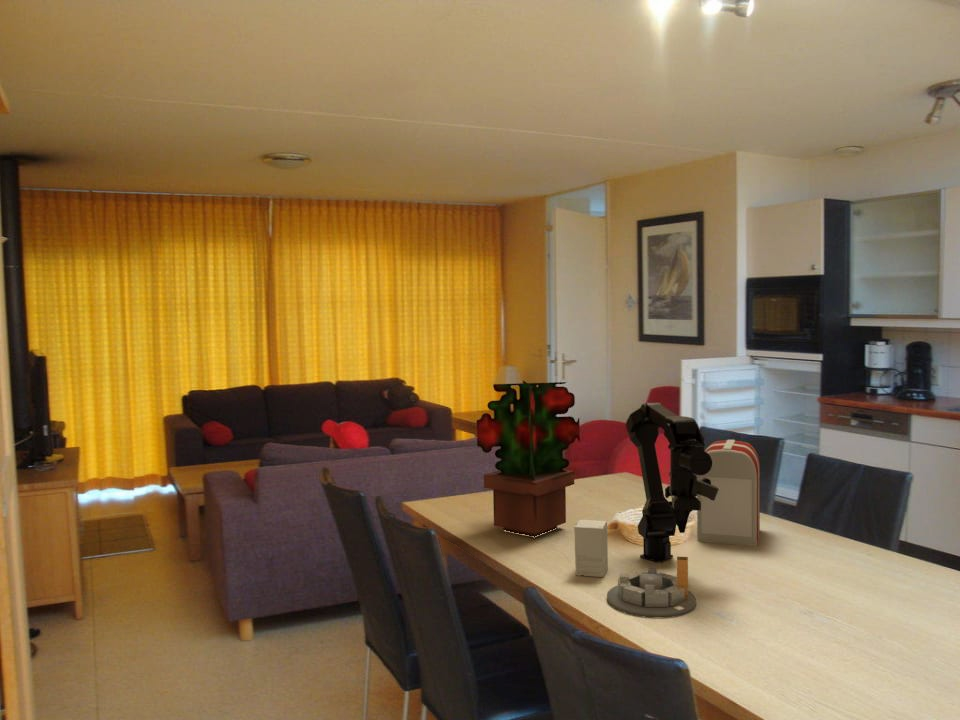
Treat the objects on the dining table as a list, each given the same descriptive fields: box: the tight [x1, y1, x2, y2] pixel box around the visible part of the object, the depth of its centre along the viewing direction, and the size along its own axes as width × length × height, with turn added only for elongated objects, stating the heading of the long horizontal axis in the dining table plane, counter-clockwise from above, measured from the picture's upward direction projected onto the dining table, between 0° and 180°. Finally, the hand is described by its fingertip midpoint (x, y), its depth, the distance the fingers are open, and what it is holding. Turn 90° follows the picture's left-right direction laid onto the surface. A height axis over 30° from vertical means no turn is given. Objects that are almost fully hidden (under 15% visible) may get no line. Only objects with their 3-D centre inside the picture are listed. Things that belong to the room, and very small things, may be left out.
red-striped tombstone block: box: [696, 439, 761, 547], centre depth 233 cm, size 16×18×27 cm
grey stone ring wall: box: [617, 556, 689, 607], centre depth 183 cm, size 15×14×9 cm
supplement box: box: [573, 519, 609, 578], centre depth 203 cm, size 7×7×13 cm
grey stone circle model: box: [606, 574, 697, 618], centre depth 183 cm, size 20×20×6 cm
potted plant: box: [476, 380, 581, 537], centre depth 242 cm, size 22×22×45 cm
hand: (682, 532), depth 197 cm, fingers closed
